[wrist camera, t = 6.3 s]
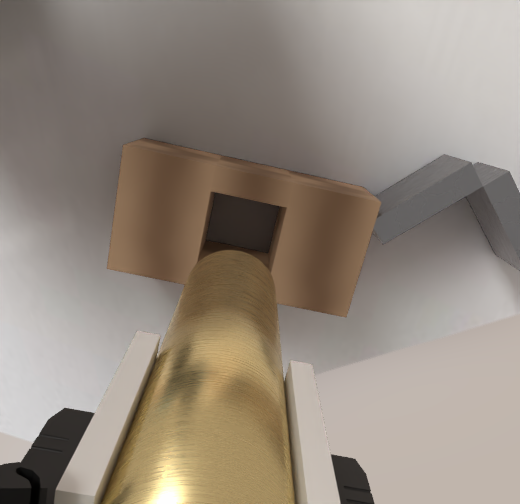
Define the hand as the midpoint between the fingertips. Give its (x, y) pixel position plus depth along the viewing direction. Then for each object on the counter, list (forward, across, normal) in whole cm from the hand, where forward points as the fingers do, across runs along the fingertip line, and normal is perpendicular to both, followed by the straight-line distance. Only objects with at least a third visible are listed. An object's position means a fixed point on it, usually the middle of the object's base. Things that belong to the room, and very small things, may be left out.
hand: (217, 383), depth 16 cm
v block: (+25, +16, +5) cm, 30 cm away
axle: (+8, 0, 0) cm, 8 cm away
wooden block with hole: (+25, 0, 0) cm, 25 cm away
